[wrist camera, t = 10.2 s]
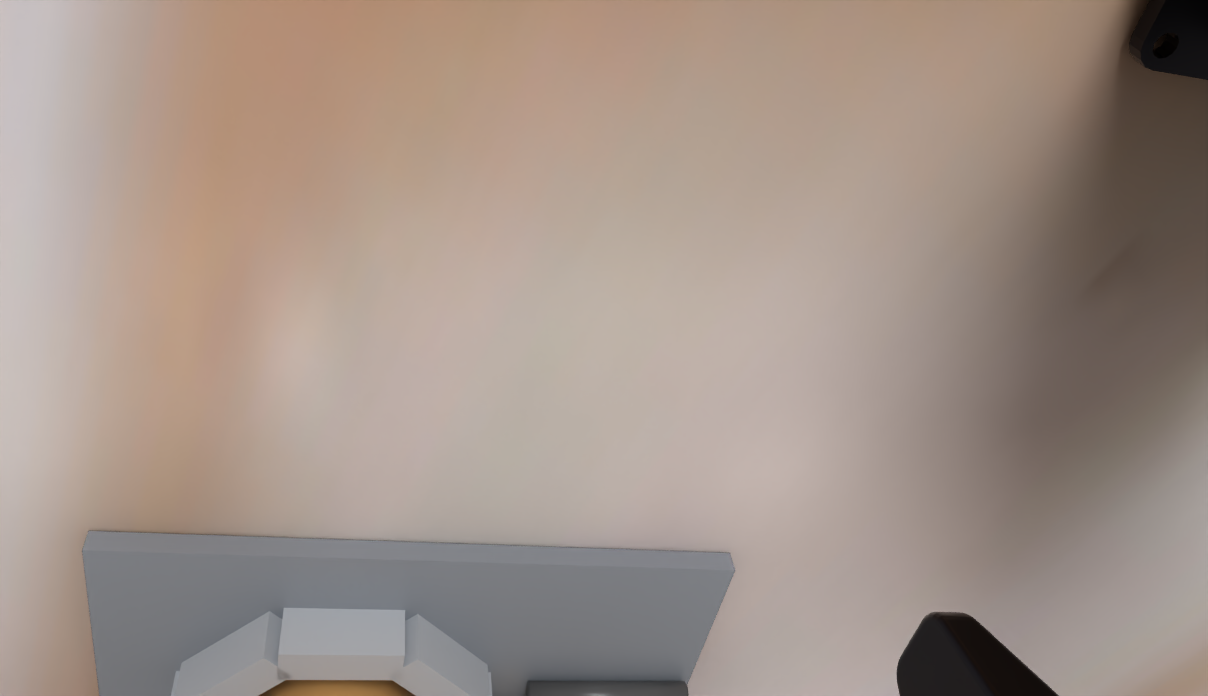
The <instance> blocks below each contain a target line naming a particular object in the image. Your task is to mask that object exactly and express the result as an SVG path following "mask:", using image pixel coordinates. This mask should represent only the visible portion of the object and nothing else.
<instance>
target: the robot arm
mask: <svg viewBox="0 0 1208 696" xmlns="http://www.w3.org/2000/svg"><path fill="white" fill-rule="evenodd" d="M1166 33H1167V36H1166V39H1165V41H1164V42H1163V43H1162V45H1161V46H1160V47H1158V48H1156V49H1155V50H1153V47H1154V44H1155V42H1156V41H1157V40H1158V39H1159V37H1161V36H1163V35H1164V34H1166ZM1129 49H1130V54H1131V55H1132V57H1133V58H1134V59H1135V60H1136V61H1137V62H1139V63H1140V64H1142V65H1143V66H1144V67H1146V68H1148V69H1151V70H1154V71H1159V72H1165V73H1171V74H1177V75H1183V76H1189V77H1194V78H1200V79H1206V80H1208V0H1150V1H1149V3H1148V5H1147V7H1146V9H1145V11H1144V13H1143V15H1142V17H1141V19H1140V20H1139V22H1138V24H1137V26H1136V28H1135V30H1134V32H1133V34H1132V37H1131V40H1130V43H1129ZM897 683H898V689H899V694H900V696H1059V695H1058V694H1056V693H1055V692H1054V691H1053V690H1052V689H1051V688H1050V687H1049V686H1048V685H1047V684H1046V683H1044V682H1043V681H1042V680H1041V679H1040V678H1039V677H1038V676H1037V675H1036V674H1035V673H1033V672H1032V671H1031V670H1030V669H1029V668H1028V667H1027V666H1026V665H1025V664H1024V663H1023V662H1021V661H1020V660H1019V659H1018V658H1017V657H1016V656H1015V655H1014V654H1013V653H1012V652H1010V651H1009V650H1008V649H1007V648H1006V647H1005V646H1004V645H1003V644H1002V643H1001V642H1000V641H998V640H997V639H996V638H995V637H994V636H993V635H992V634H991V633H990V632H989V631H988V630H986V629H985V628H984V627H983V626H982V625H981V624H980V623H979V622H978V621H977V620H975V619H974V618H973V617H971V616H969V615H967V614H965V613H959V612H933V613H930V614H928V615H927V616H926V617H925V618H924V619H923V620H922V622H921V624H920V625H919V627H918V629H917V630H916V632H915V634H914V635H913V637H912V639H911V640H910V642H909V644H908V645H907V647H906V649H905V650H904V652H903V654H902V655H901V657H900V659H899V662H898V666H897Z"/></svg>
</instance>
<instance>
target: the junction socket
mask: <svg viewBox="0 0 1208 696" xmlns="http://www.w3.org/2000/svg"><path fill="white" fill-rule="evenodd" d="M82 553H83V562H84V570H85V578H86V587H87V595H88V604H89V612H90V621H91V629H92V637H93V646H94V654H95V663H96V671H97V680H98V688H99V696H258V695H260V694H262V693H264V692H266V691H267V690H269V689H271V688H273V687H274V686H276V685H278V684H280V683H282V682H283V681H285V680H393V681H394V682H396V683H397V684H399V685H400V686H402V687H403V688H405V689H406V690H408V691H409V692H411V693H412V694H414V695H415V696H688V688H687V684H688V681H689V679H690V677H691V674H692V672H693V669H694V667H695V665H696V662H697V660H698V658H699V655H700V653H701V650H702V648H703V646H704V643H705V641H706V639H707V636H708V634H709V631H710V629H711V627H712V624H713V622H714V620H715V617H716V615H717V612H718V610H719V608H720V605H721V603H722V600H723V598H724V596H725V593H726V591H727V589H728V586H729V584H730V581H731V579H732V577H733V574H734V572H735V568H734V565H733V561H732V558H731V555H730V553H715V552H686V551H657V550H628V549H599V548H570V547H541V546H512V545H483V544H454V543H425V542H396V541H367V540H338V539H309V538H280V537H251V536H222V535H193V534H164V533H135V532H106V531H88V534H87V537H86V540H85V543H84V546H83V549H82Z"/></svg>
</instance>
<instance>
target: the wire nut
mask: <svg viewBox="0 0 1208 696" xmlns="http://www.w3.org/2000/svg"><path fill="white" fill-rule="evenodd" d="M258 696H415V695H414V694H412V693H411V692H409V691H408V690H406V689H405V688H403V687H402V686H400V685H399V684H397V683H396V682H394V681H393V680H285V681H283V682H282V683H280V684H278V685H276V686H274V687H273V688H271V689H269V690H267V691H266V692H264V693H262V694H260V695H258Z"/></svg>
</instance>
